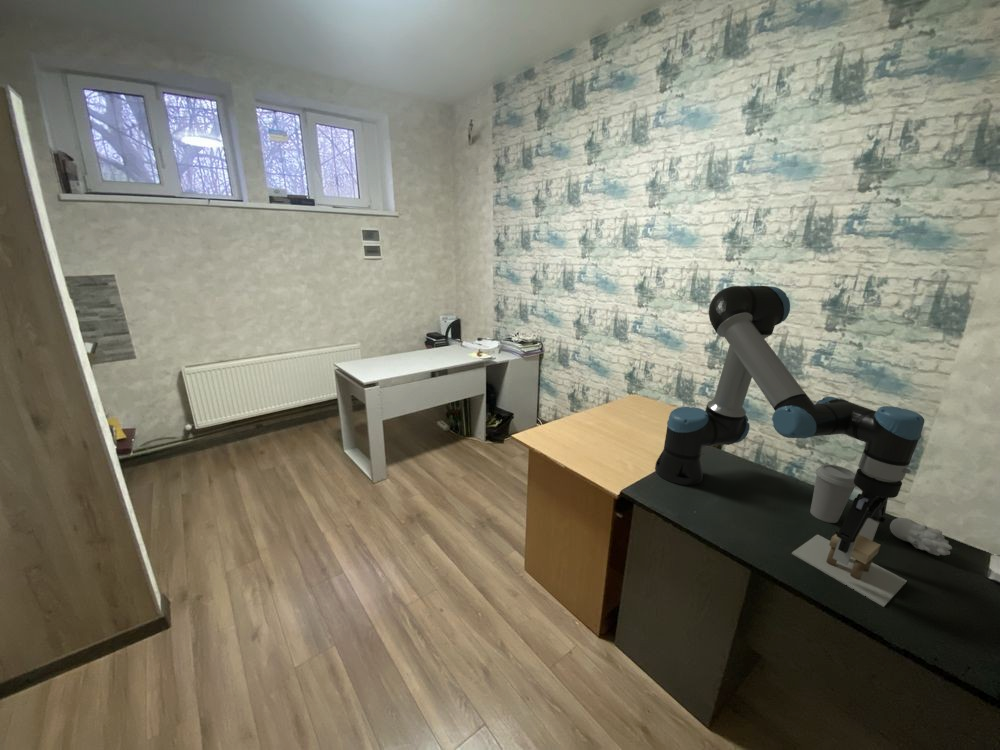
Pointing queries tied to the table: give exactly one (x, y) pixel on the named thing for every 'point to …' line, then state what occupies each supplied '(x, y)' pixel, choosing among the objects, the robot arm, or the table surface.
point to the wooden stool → (857, 554)
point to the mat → (871, 583)
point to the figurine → (920, 536)
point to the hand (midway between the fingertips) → (852, 551)
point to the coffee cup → (831, 492)
